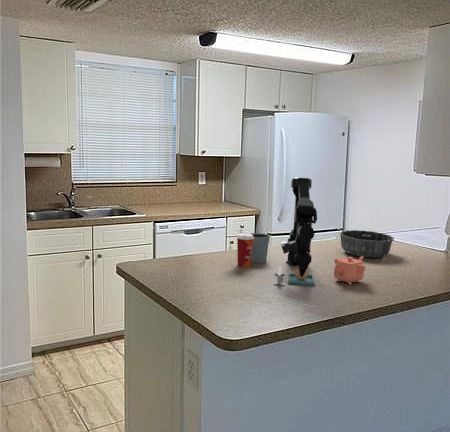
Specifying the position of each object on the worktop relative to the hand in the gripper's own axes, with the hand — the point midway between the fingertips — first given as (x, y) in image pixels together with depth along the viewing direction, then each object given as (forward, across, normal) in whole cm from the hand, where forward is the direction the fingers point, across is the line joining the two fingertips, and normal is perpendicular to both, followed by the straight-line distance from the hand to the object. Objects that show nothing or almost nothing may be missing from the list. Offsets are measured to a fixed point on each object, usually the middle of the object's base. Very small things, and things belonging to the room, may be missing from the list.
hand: (301, 273), depth 191 cm
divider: (+3, 0, -9) cm, 9 cm away
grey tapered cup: (+3, -29, -19) cm, 35 cm away
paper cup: (+3, -18, -25) cm, 30 cm away
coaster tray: (+3, 0, 0) cm, 3 cm away
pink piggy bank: (+3, -4, +19) cm, 20 cm away
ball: (+2, 0, 0) cm, 2 cm away
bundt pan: (+3, -57, +34) cm, 66 cm away
